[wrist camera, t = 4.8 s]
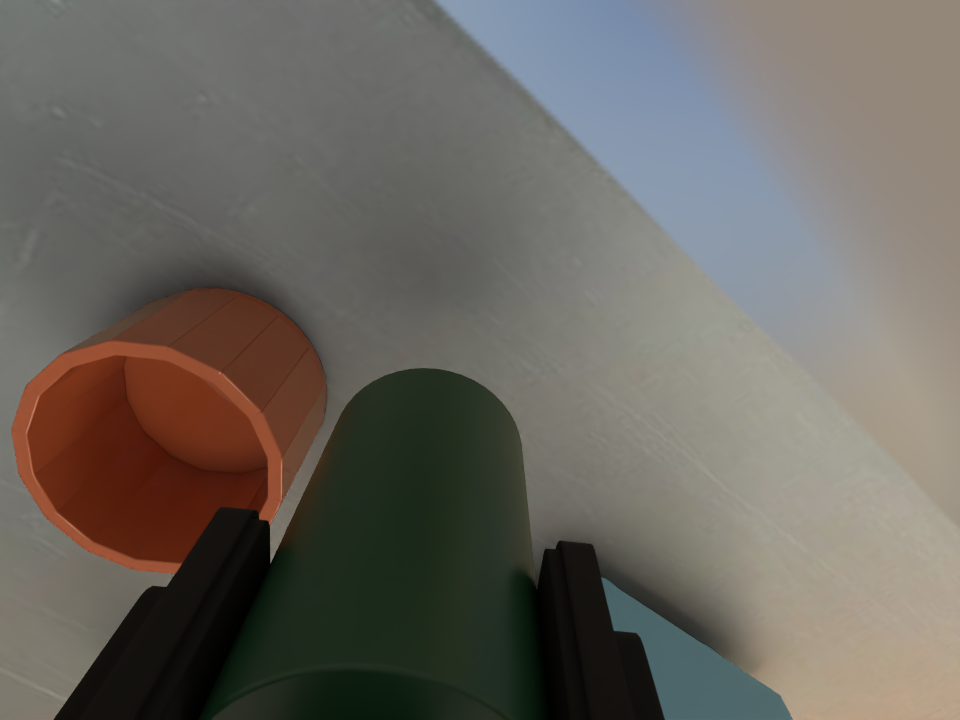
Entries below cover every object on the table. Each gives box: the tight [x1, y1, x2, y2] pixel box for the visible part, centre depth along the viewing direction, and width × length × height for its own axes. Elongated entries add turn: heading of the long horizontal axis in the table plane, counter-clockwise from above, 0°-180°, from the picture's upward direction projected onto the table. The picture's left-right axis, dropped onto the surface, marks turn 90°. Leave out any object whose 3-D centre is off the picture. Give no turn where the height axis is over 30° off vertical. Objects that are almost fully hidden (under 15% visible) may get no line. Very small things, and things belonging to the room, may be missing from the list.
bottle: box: [198, 368, 550, 720], centre depth 10 cm, size 4×4×10 cm
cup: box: [11, 288, 327, 574], centre depth 24 cm, size 9×9×6 cm
